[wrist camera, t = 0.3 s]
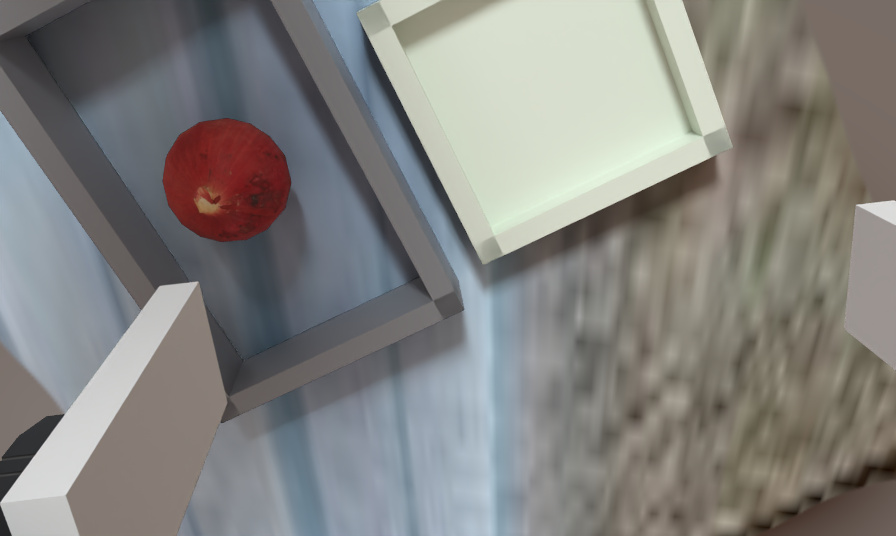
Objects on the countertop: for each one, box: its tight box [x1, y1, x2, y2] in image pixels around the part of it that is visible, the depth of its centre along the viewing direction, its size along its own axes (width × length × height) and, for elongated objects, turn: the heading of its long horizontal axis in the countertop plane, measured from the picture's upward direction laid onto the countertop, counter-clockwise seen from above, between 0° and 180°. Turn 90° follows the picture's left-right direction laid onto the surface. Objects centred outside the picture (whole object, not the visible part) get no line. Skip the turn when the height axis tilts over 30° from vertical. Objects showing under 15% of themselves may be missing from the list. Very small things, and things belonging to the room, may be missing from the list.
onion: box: [163, 118, 291, 242], centre depth 37 cm, size 6×6×8 cm
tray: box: [356, 0, 733, 265], centre depth 39 cm, size 14×14×2 cm
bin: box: [0, 0, 464, 423], centre depth 39 cm, size 22×14×4 cm, turn 26°
